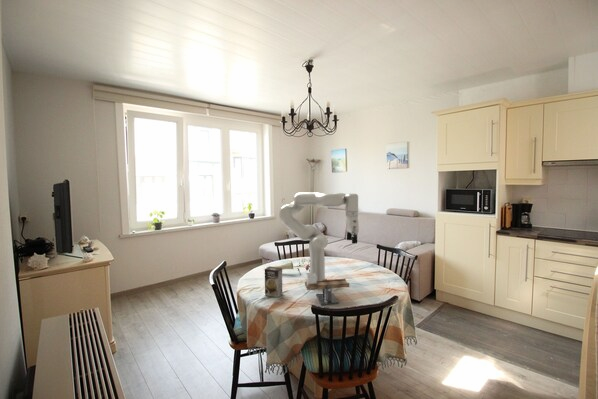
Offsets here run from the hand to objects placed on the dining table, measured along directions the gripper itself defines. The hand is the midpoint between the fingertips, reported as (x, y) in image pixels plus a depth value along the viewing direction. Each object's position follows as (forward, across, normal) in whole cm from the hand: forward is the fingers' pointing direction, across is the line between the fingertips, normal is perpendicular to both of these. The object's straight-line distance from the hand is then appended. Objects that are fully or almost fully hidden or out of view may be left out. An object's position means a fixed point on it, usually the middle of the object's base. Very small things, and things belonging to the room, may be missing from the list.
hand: (351, 241), depth 175 cm
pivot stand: (+30, -12, +19) cm, 38 cm away
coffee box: (+31, +1, +48) cm, 57 cm away
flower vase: (+31, +36, +34) cm, 58 cm away
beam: (+22, -12, +19) cm, 31 cm away
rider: (+21, -11, +28) cm, 36 cm away
